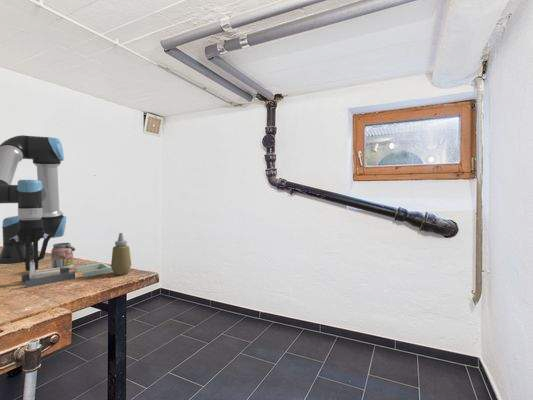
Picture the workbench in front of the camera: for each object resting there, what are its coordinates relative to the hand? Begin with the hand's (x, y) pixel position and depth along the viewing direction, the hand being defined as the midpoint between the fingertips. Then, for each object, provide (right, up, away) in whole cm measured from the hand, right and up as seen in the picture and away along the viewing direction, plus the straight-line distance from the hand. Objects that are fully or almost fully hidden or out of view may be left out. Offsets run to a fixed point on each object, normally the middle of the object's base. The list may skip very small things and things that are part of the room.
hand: (32, 278), depth 115 cm
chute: (+4, -2, +4) cm, 6 cm away
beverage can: (-1, -1, +19) cm, 19 cm away
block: (+4, -2, +4) cm, 5 cm away
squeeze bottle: (+29, -2, +13) cm, 32 cm away
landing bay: (+15, -1, +16) cm, 21 cm away
